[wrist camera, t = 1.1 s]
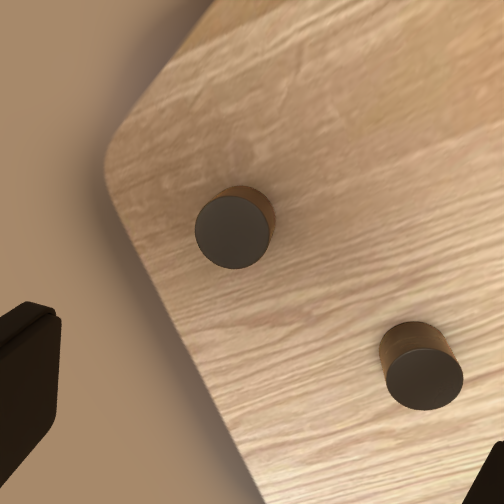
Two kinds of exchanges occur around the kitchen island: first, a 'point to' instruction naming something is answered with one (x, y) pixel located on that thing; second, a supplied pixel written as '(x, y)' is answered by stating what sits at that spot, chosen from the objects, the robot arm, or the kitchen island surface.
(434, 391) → the dot right
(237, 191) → the dot left
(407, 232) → the kitchen island surface
